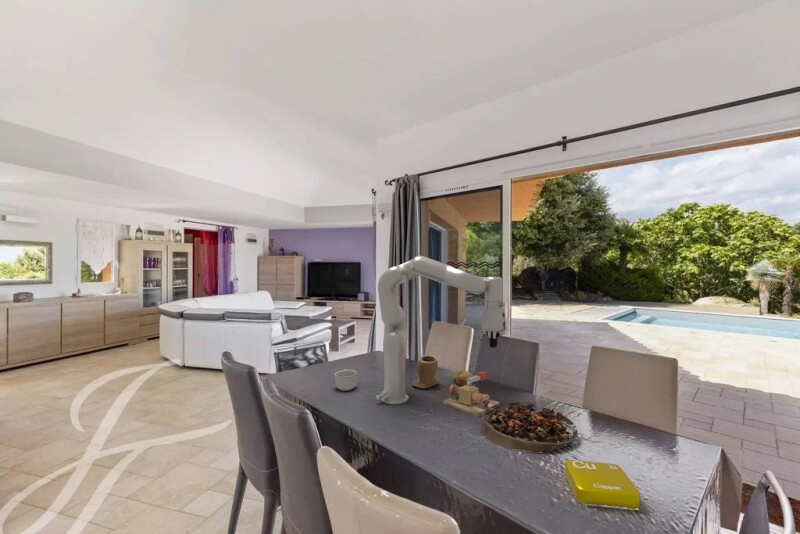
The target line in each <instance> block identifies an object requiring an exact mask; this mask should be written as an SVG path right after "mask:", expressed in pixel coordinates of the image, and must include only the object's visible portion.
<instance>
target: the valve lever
mask: <svg viewBox="0 0 800 534" xmlns="http://www.w3.org/2000/svg"><path fill="white" fill-rule="evenodd" d="M484 380H487V371H482V370H480V371H478V372H476V374H475V375H473V377H470V378H467V386H470V383H472V382H474V383H475V382H478V381H480V382H482V381H484Z"/></svg>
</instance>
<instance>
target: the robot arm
mask: <svg viewBox="0 0 800 534" xmlns="http://www.w3.org/2000/svg"><path fill="white" fill-rule="evenodd" d="M420 276H421V277H424V278H426V279H430V280H432V281H435V282H438V283H441V284H443V285H446V286H451V287H453V288H455V289H460V290H462V291H464V292H467V293H470V294H473V295H481V294H483V293H484V307H483V309H482V313H481V314H482V315H481V332H483V333H485V334H486V335H487V337H488V339H489V348H493V349H494V348H497V346H498V338H500V336H505V335H506V331H507V330H508V329H507V328H508V327H507V316H506V311H505V308H504V307H505V306H506V303H504V302H503V295H504V294H503V289H504V288H503V286H504V285H503V283H504V282H503V278H502V277H501V276H487V277H485V276H478V275H476V274H475V275H474V274H471V273H469V272H466V271H464V270H460V269H458V268H456V267H454V266H452V265H449V264H446V263H444V262H440V261H438V260H435V259H432V258H430V257H426V256H423V255H416V256H415V257H414V258H412V259H410V260H408V261H406V262H403V263H401V264H399V265H394V266H391V267H390V268H388V269H386V270H385V271H384V272H383V273H382V274H381V276H380V277H379V278H378V284H377V293H378V300H379V301H378V302H379V308H380V309H379V310H380V316H381V320H382V321H381V322H382V323H383V324H384V325H385V328H386V333H385V335H384V338H383V345H382V346H383V358H384V359H383V373H384V374H383V375H384V377H383V378H384V379H383V384H384V385H383V390H382V392H381V393H380V394H377V395H375V399H376V400H377V401H378V400H380V401H381V402H382V403H384V404H388V405H402V404H406V403H407V402H408V401H409V400H410V399H409V398H410V397H409V395H407V393H406V343H407V339H408V331H407V325H406V323H407V322H406V318H405V312H404V309H403V308H402V306H400V303H399V296H398V292H397V289H398V286H399V285H402V284H404V283H406V282H409V281H411V280H413V279H415V278H417V277H420Z"/></svg>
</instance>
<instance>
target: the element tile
mask: <svg viewBox="0 0 800 534" xmlns="http://www.w3.org/2000/svg"><path fill="white" fill-rule="evenodd" d="M565 476H566V477H565ZM564 477H565V479H566V478H567V480H568V482H569V484H570V486H571V488H570V490H571V489H572V490H571V492H572V491H573V492H572V494H573V493H574V495H575V497H576V499H577V500H579V501H580V502H583V503H585V504H594V505H595V504H596V505H607V506H619V507H627V508H632V509H636V508H639V509H640V499H641V498H640V496H641V495H640V494H641V492H639V490H638V488H637V487H636V486H635V484H634V483H633V482H632V481H631V479H630V478H629V477H628V475H627V473H626V472H625V471H624V470H623V469H622V467H620V466H619V465H618V464H615V463H610V462H609V463H607V462H596V461H587V460H586V461H584V460H574V459H573V460H572V459H567V460H565V462H564ZM567 480H566V481H567ZM568 482H567V483H568ZM569 484H568V485H569ZM570 486H569V487H570ZM574 495H573V496H574ZM575 497H574V498H575ZM576 499H575V500H576ZM577 500H576V501H577Z"/></svg>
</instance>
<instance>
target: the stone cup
mask: <svg viewBox="0 0 800 534" xmlns="http://www.w3.org/2000/svg"><path fill="white" fill-rule="evenodd" d="M416 366H417V367H416V368H417V373H418V379H415V380H414V381H412V382H411V385H412V386H414V387H415V388H418V389H428V388H431V387H432V386H435V385H437V384H439V383H441V380H440V379H439V378H438V377H436V373H437V369H438V359H437V357H436V356H434V355H430V354H428V355H426V354H425V355H424V354H423V355H421V356H420V357H419V358H418V360H417V365H416Z"/></svg>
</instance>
